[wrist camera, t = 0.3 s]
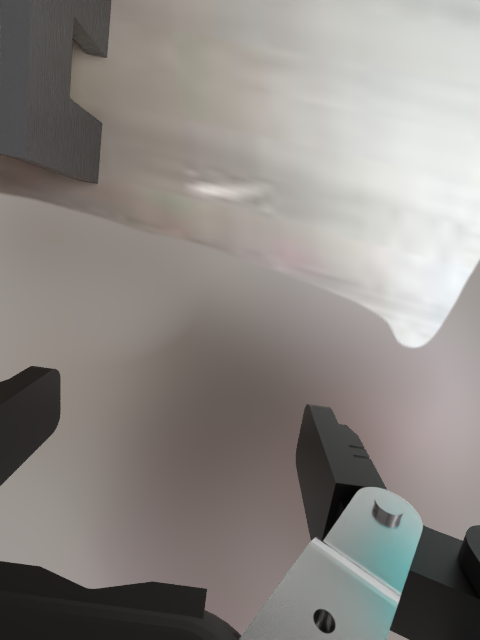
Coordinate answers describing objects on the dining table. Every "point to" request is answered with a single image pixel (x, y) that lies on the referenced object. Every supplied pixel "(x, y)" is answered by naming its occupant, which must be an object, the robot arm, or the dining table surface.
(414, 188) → the dining table surface
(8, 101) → the plate
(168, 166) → the dining table surface
